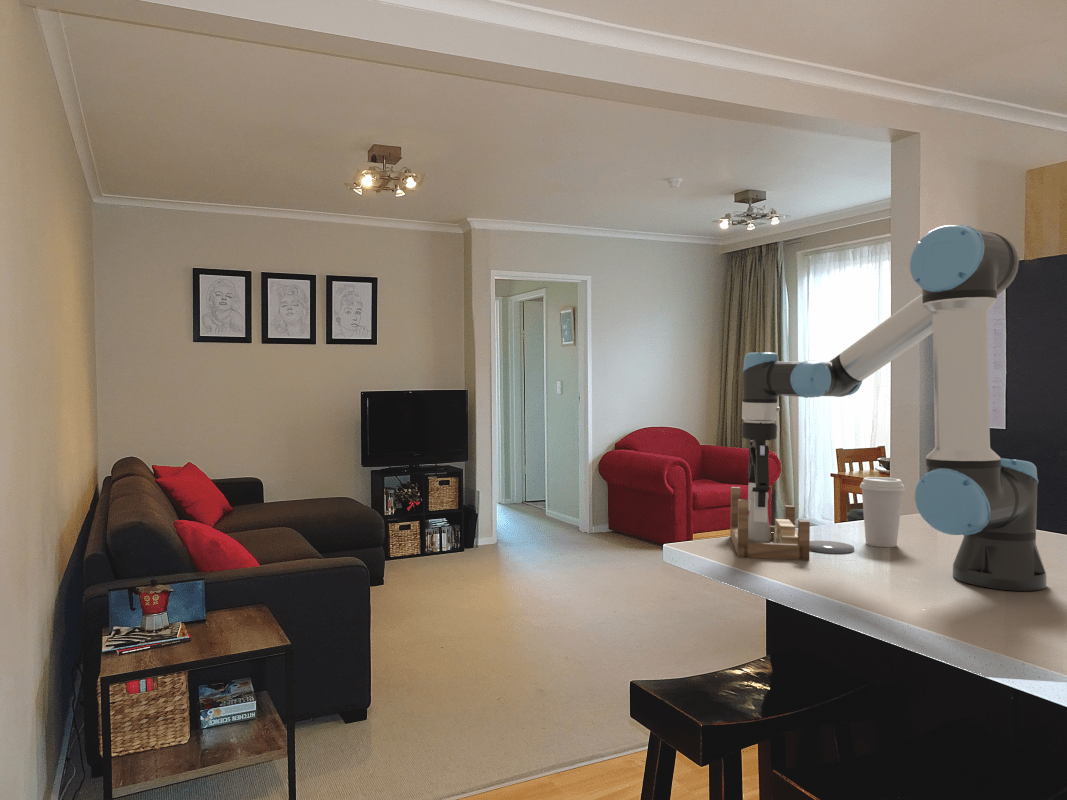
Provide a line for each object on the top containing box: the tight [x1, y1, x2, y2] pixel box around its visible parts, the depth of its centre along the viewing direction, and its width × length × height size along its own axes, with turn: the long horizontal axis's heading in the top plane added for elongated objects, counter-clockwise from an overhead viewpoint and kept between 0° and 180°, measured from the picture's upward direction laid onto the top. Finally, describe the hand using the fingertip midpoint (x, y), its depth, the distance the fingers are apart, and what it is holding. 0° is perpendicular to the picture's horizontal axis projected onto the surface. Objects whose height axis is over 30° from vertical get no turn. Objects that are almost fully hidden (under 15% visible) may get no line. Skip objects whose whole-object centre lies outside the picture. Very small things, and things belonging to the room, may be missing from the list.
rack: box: [729, 486, 811, 561], centre depth 175 cm, size 22×14×12 cm, turn 170°
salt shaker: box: [748, 490, 772, 543], centre depth 176 cm, size 6×6×13 cm
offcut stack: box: [773, 518, 798, 544], centre depth 175 cm, size 14×3×6 cm, turn 170°
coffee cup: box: [859, 476, 906, 548], centre depth 180 cm, size 10×10×15 cm
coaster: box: [809, 540, 855, 554], centre depth 175 cm, size 11×11×1 cm
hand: (757, 516), depth 176 cm, fingers open, 13 cm apart
